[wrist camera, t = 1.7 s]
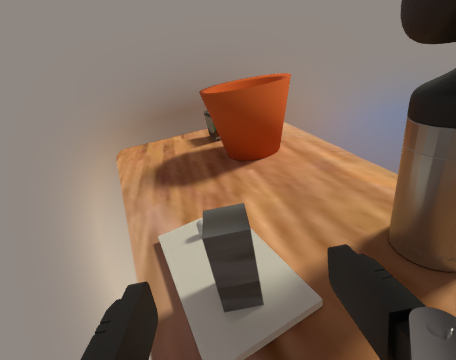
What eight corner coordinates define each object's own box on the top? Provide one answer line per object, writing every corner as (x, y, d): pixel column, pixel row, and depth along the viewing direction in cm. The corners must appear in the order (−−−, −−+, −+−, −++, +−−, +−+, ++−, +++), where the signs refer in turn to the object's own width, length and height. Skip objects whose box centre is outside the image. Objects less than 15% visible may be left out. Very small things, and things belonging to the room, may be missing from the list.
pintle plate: (160, 241, 42) (152, 223, 41) (229, 211, 47) (225, 193, 45) (210, 382, 22) (200, 358, 21) (322, 306, 27) (322, 280, 25)
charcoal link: (222, 279, 31) (203, 211, 26) (256, 272, 31) (243, 203, 26) (224, 312, 27) (202, 238, 22) (263, 304, 27) (250, 229, 22)
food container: (233, 138, 89) (228, 111, 84) (217, 142, 87) (212, 115, 83) (222, 131, 99) (217, 107, 95) (208, 135, 98) (203, 111, 94)
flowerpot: (210, 146, 85) (197, 88, 76) (278, 131, 86) (273, 72, 77) (219, 175, 62) (201, 97, 54) (309, 154, 64) (307, 74, 55)
